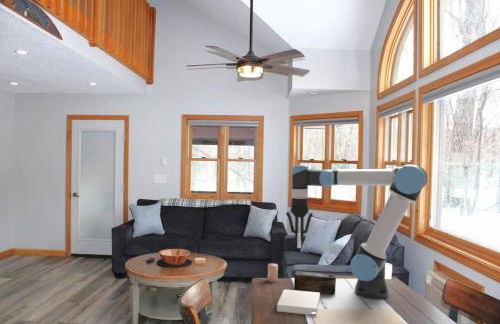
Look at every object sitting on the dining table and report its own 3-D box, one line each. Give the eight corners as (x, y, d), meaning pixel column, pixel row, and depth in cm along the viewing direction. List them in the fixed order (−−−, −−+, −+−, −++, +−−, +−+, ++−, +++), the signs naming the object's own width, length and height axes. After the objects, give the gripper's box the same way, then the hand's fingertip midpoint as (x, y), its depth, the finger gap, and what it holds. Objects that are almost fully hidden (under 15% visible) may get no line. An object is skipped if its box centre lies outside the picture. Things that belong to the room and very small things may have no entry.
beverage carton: (334, 290, 195) (335, 295, 189) (294, 287, 199) (293, 291, 192) (335, 274, 195) (336, 277, 189) (294, 270, 199) (294, 274, 192)
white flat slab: (319, 299, 183) (319, 292, 183) (316, 316, 164) (317, 308, 164) (283, 295, 187) (284, 289, 187) (276, 311, 167) (277, 304, 167)
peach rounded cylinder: (278, 279, 212) (278, 263, 212) (276, 282, 207) (277, 266, 207) (268, 278, 213) (268, 263, 213) (266, 281, 208) (267, 265, 208)
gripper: (314, 197, 198) (313, 246, 198) (287, 196, 201) (286, 245, 201) (313, 198, 191) (312, 250, 191) (285, 198, 194) (284, 248, 194)
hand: (299, 247), depth 196 cm, fingers closed
